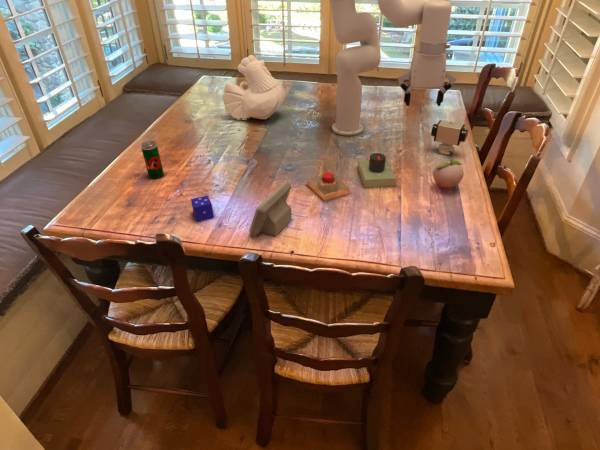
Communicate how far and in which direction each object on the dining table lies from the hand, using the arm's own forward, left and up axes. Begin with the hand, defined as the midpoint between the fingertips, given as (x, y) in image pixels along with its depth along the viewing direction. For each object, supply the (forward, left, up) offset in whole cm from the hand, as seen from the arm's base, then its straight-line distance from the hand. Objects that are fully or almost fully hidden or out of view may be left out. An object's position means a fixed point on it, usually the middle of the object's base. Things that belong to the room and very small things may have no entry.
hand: (422, 104), depth 137 cm
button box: (+3, -33, -23) cm, 40 cm away
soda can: (-25, -85, -23) cm, 91 cm away
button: (+3, -33, -19) cm, 38 cm away
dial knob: (+1, -15, -19) cm, 24 cm away
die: (+4, -73, -23) cm, 76 cm away
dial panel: (+1, -15, -23) cm, 27 cm away
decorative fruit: (+15, +3, -23) cm, 28 cm away
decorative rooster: (-62, -41, -23) cm, 77 cm away
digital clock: (+15, -55, -23) cm, 61 cm away
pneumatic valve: (-6, +17, -23) cm, 29 cm away
